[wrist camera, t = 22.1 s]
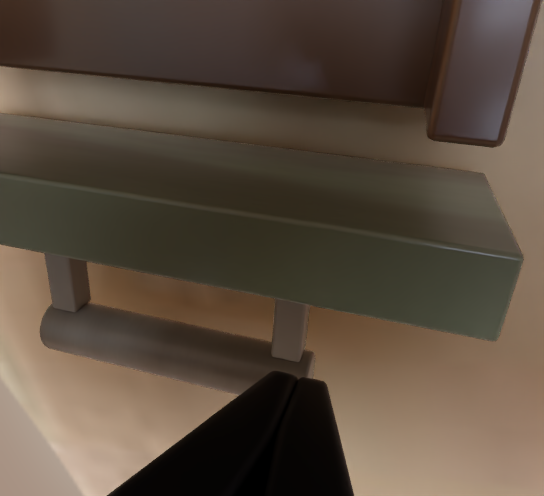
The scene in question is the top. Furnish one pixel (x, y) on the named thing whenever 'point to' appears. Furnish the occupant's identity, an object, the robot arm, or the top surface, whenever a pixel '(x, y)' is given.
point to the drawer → (264, 174)
